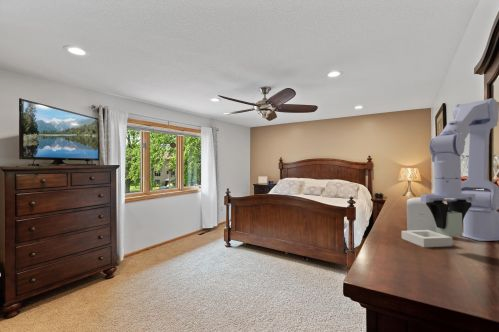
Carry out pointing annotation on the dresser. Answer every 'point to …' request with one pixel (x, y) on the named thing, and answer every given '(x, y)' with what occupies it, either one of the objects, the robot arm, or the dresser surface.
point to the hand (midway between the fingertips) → (448, 227)
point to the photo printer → (419, 216)
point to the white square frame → (427, 238)
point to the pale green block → (452, 224)
